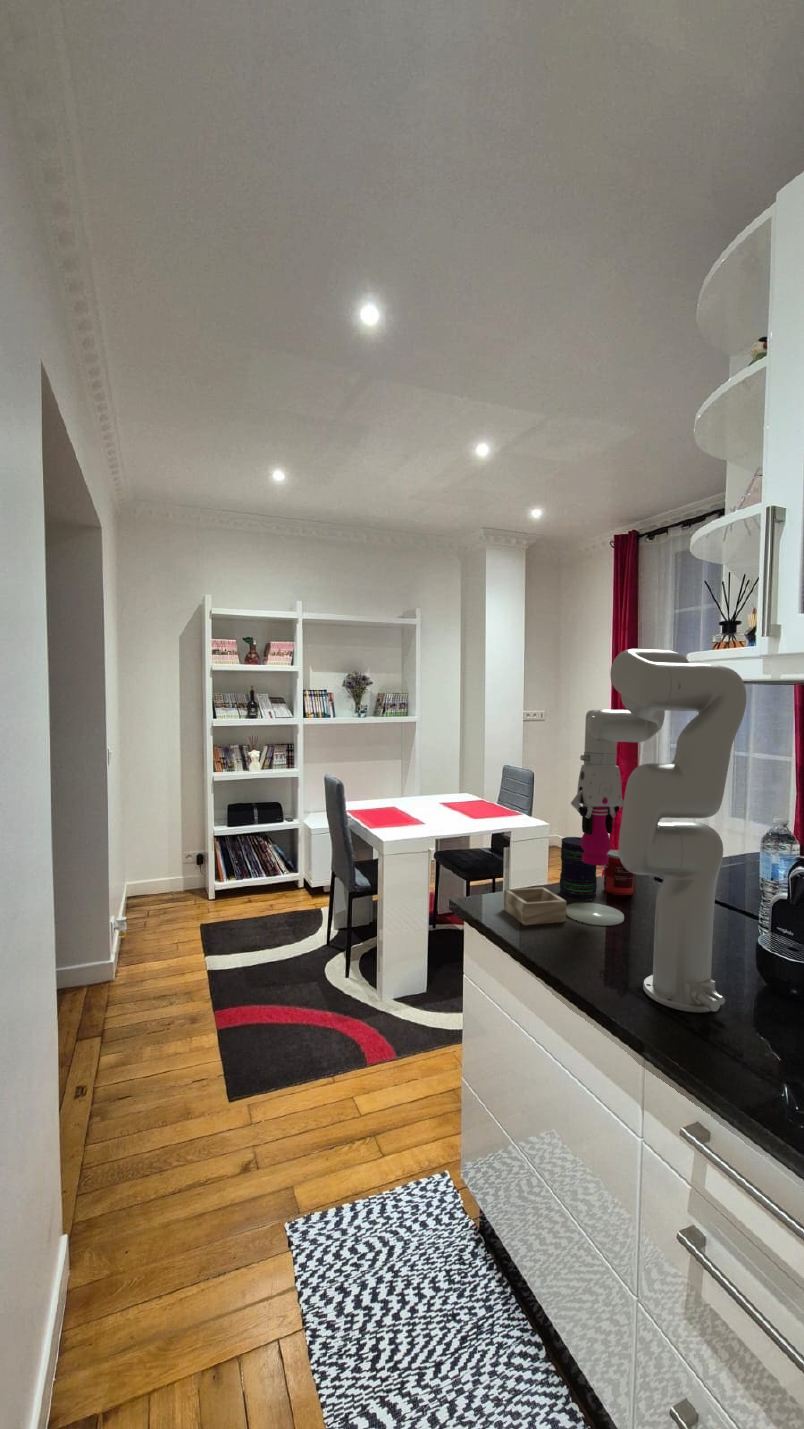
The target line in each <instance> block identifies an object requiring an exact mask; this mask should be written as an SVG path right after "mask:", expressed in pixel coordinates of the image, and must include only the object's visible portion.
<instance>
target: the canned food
mask: <svg viewBox="0 0 804 1429" xmlns="http://www.w3.org/2000/svg"><path fill="white" fill-rule="evenodd" d="M606 855H607V856H608V857H609V860H608V864H607V865H603V866H604V868H603V869H604V874H603V890H604V891H605V893H607V892H608V893H607V894H609V893H611V894H610V895H612V894H613V896H616V895H630V896H632V895H633V893H634V877H635V874H634V873H631V872H629V871H628V870H626V869H625V868H624V866H623V865H622V863H621V860H620V857H619V849H610V851H609V852H608V853H607V854H606Z"/></svg>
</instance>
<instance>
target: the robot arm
mask: <svg viewBox="0 0 804 1429" xmlns="http://www.w3.org/2000/svg"><path fill="white" fill-rule="evenodd" d="M609 675H610V680H611V683H612V686H613V688H614V689H615V691H617V693H618V694H620V699H621V703H622V705H623V707H624V708H625V709H591V710H588V711H587V712H586V715H585V730H584V731H585V732H584V733H585V734H584V752H583V754H582V755H580V757H579V758H580V761H583V764H581V767H580V771H579V776H578V782H577V791H576V792H577V794H576V795H575V797H573V799H572V800H571V802H570V805H571V806H572V807H573V808H575V810H576V811H577V812H578V813H579V815H580V816H581V817H582V818H581V819H582V820H581V831H582V833H583V834H584V833H586V834H592V821H593V820H592V818H590V817H591V813H592V810H593V807H607V809H608V812H607V813H608V814H607V815H606V819H605V826H606V830H607V833H608V835H609V834H610V835H611V834H612V833H613V828H614V827H613V823H614V818H616V815H617V813H618V812H619V810H620V809H621V808H622V812H621V821H620V827H619V834H618V850H619V857H620V860H621V863H622V865H623V866H624V868H625V869H626V870H628V871H629V872H631V873H634V875H638V876H639V875H640V876H641V875H642V876H665V877H664V878H663V880H662V881H661V883H660V885H659V887H658V889H657V892H656V897H655V898H656V900H655V910H654V912H655V917H654V937H653V938H654V940H653V962H652V965H653V966H652V974H651V975H649V976H647V977H645V979H644V980H643V984H642V985H643V987H642V988H643V991H644V992H645V994H646V995H647V996H648V997H649V998H650V999H652V1000H653V1001H655V1002H656V1003H659V1004H661V1005H663V1006H666V1007H668V1008H672V1009H675V1010H678V1011H683V1012H689V1013H710V1012H718V1011H719V1009H720V1008H721V1005H724V1004H725V1002H726V998H725V997H724V996H723V995H721V994H720V993H718V991H716V981H715V980H713V979H712V962H713V961H712V958H713V938H714V934H713V933H714V916H715V903H716V902H715V901H716V900H715V899H716V889H717V884H718V878H719V873H720V869H721V868H722V861H723V859H724V857H723V856H724V846H723V845H724V844H723V843H724V842H723V841H722V838H721V836H720V834H719V833H718V832H717V830H716V829H714V827H712V826H709V825H707V824H705V823H702V822H698V821H691V820H692V819H695V820H696V819H707V818H711V817H713V816H715V815H716V814H717V813H718V812H719V811H720V808H721V805H722V802H723V799H724V794H725V789H726V783H727V776H728V772H729V765H730V760H731V752H732V748H733V744H734V741H735V738H736V735H737V734H738V731H739V728H740V726H741V724H742V721H743V719H744V715H745V712H746V707H747V699H748V698H747V690H746V689H747V688H746V686H745V683H744V681H743V679H742V676H740V674H739V673H738V672H736V671H735V670H734V669H732V668H729V667H726V666H724V665H719V664H712V663H710V664H709V663H696V662H695V663H692V662H690V661H689V660H688V659H687V658H686V657H685V655H683V654H681V653H679V652H677V651H673V650H668V649H666V650H665V649H646V648H645V649H644V648H643V649H642V648H630V649H626V650H623V651H621V652H620V653H618V655H617V656H616V657H615V658H614V659H613V662H612V664H611V667H610V674H609ZM666 711H668V712H669V711H676V712H697V713H698V714H697V715H696V716H695V717H693V718H692V719H691V720H690V721H689V722H688V723H687V724H686V726H685V727H684V728H683V729H682V730H681V731H680V734H679V735H678V738H677V739H676V740H677V741H676V745H675V746H676V747H675V754H674V758H673V760H672V761H671V762H670V763H652V762H650V763H646V764H645V763H644V764H641V765H639V766H637V767H635V768H634V769H633V770H632V772H631V773H630V775H629V777H628V780H627V782H626V785H625V786H626V787H625V791H624V796H623V794H622V792H623V791H622V789H623V788H622V777H621V771H620V766H618V765H617V748H618V747H617V746H618V745H617V744H618V743H619V742H620V743H622V742H623V743H624V742H625V743H643V742H647V741H649V740H650V739H651V738H653V737H654V736H655V735H656V734H658V733H659V732H660V731H661V730H662V727H663V725H664V723H665V722H664V721H665V715H666ZM622 796H623V797H624V799H623V797H622ZM604 797H605V798H606V797H607V800H608V802H607V804H603V803H602V800H603V799H604ZM661 819H691V820H690V821H687V820H686V821H685V820H683V821H681V820H664V821H662V820H661Z"/></svg>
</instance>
